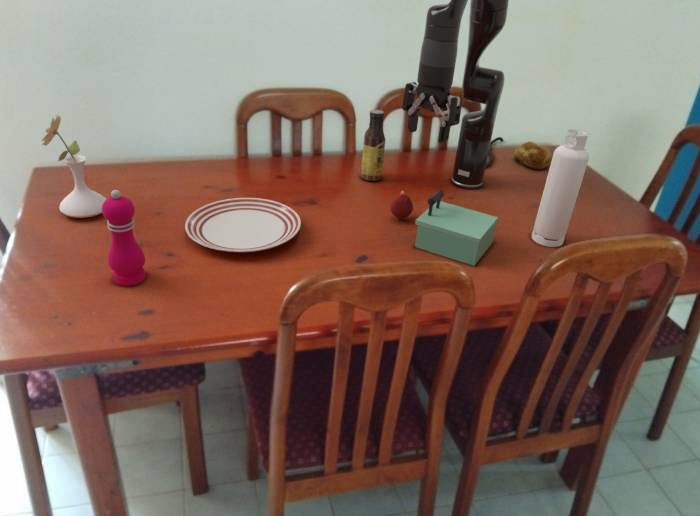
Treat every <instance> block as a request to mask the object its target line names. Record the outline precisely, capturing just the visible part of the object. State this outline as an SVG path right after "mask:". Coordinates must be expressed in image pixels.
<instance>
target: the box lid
mask: <svg viewBox="0 0 700 516" xmlns="http://www.w3.org/2000/svg"><path fill="white" fill-rule="evenodd" d="M444 195H445V193H444V191H443V190H442V189H439V190H437V191H436V192H435V193H434V194H433V195H431V197H429V198H428V199H427V204H428V205H429V207H428V208H427V209H426V210H425V211H424V212H423V213H422V214H421V215H420V216H418V217H417V218H416V219H415V223H414V224H415V225H416V226H418V225H419V226H422V227H426V228H429V229H432V230H436V231H439V232H442V233H445V234H449V235H452V236H455V237H459V238H462V239H465V240H469V241H472V242H475V243H480V242H481V241H482V239H483V238H484V237H485V236H486V235H487V233H488V232H489V231H490V230H491V228H492V227H493V226H494V225H495V224H496V222H497V223H498V220H499V216H495V215H493V214H488V213H485V212H481V211H477V210H473V209H470V208H466V207H463V206H461V205H460V206H459V205H456V204H452V203H448V202H445V201H441V199H442V198H443V197H444Z"/></svg>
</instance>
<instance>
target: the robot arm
mask: <svg viewBox="0 0 700 516" xmlns="http://www.w3.org/2000/svg"><path fill="white" fill-rule="evenodd" d="M468 1H469V0H450V1H449V2H448V3H444V4H443V3H442V4H435V5H432V6H430V7H429V8H428V9H427V12H426V17H425V25H424V33H423V40H422V44H421V48H420V55H419V64H418V69H417V70H418V72H417V78H416V79H417V80H416V81H417V82H416V81H412V82H407V83H405V88H404V94H403V100H402V105H401V109H402V110H403V111H405V112H407V114H408V119H407V120H408V121H407V129H408V132H409V133H416V132H417V130H418V124H419V117H420V114H419V113H420V111H422V110H428V111H430V112H432V113H434V114H435V116H436V118H437V119H438V120H439V122H440V127H439V132H438V138H437V142H438V144H444V143H446V142H447V141H448V140H449V138H450V132H451V127H454V126H456V125H459V124H460V129H459V136H458V142H457V146H456V152H455V158H454V163H453V169H452V176H451V178H450V179H451V180H450V181H451V183H452V184H453V185H455V186H457V187H458V188H459V187H460V188H462V189H467V190H468V189H470V190H471V189H473V190H474V189H479V188H481V187H482V186H483V183H484V178H485V177H484V175H485V172H486V168H488V167H489V166H490V165H491V164H492V163H493V161H494V159H493V158H494V155H493V153H492V150H491V147H492V145H493V144H495V143H496V142H498V141H500V142H504V138H503V137H501V136H497V137H495V138H494V139H492V137H493V132H494V127H495V122H496V118H497V115H498V109H499V105H500V102H501V97H502V94H503V89H504V85H505V74H504V72H503V71H502V70H499V69H493V68H490V67H489V68H488V67H482V66H480V61H481V58H482V56H483V54H484V53H485V51H486V50H487V48H489V46H490V45H491V43H493V42H494V40H495V39H496V38H497V37H498V35H499V34H500V33H501V32H502V30H503V29H504V27H505V25H506V22H507V17H508V9H509V1H510V0H470V5H469V16H468V20H469V21H468V23H469V24H468V37H467V49H466V50H467V51H466V57H465V62H464V71H463V78H462V84H461V94H462V95H457V96H455V95H451V88H452V86H453V82H454V75H455V70H456V65H457V64H456V63H457V58H458V50H459V49H458V46H459V45H458V43H459V37H460V36H459V35H460V31H461V30H460V29H461V23H462V19H463V15H464V12H465V9H466V6H467V3H468ZM417 83H418V84H417ZM416 96H417V98H416V100H415V97H416ZM463 99H464V100H465V101H468V102H470V103H471V102H472V103H477V104H482V105H485V107H484V108H483V109H481V110H477V111H471V112H467V113H465V114H464V115H462V118H461V113H462V107H463V106H462V104H463ZM488 156H489V160H488Z"/></svg>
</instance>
